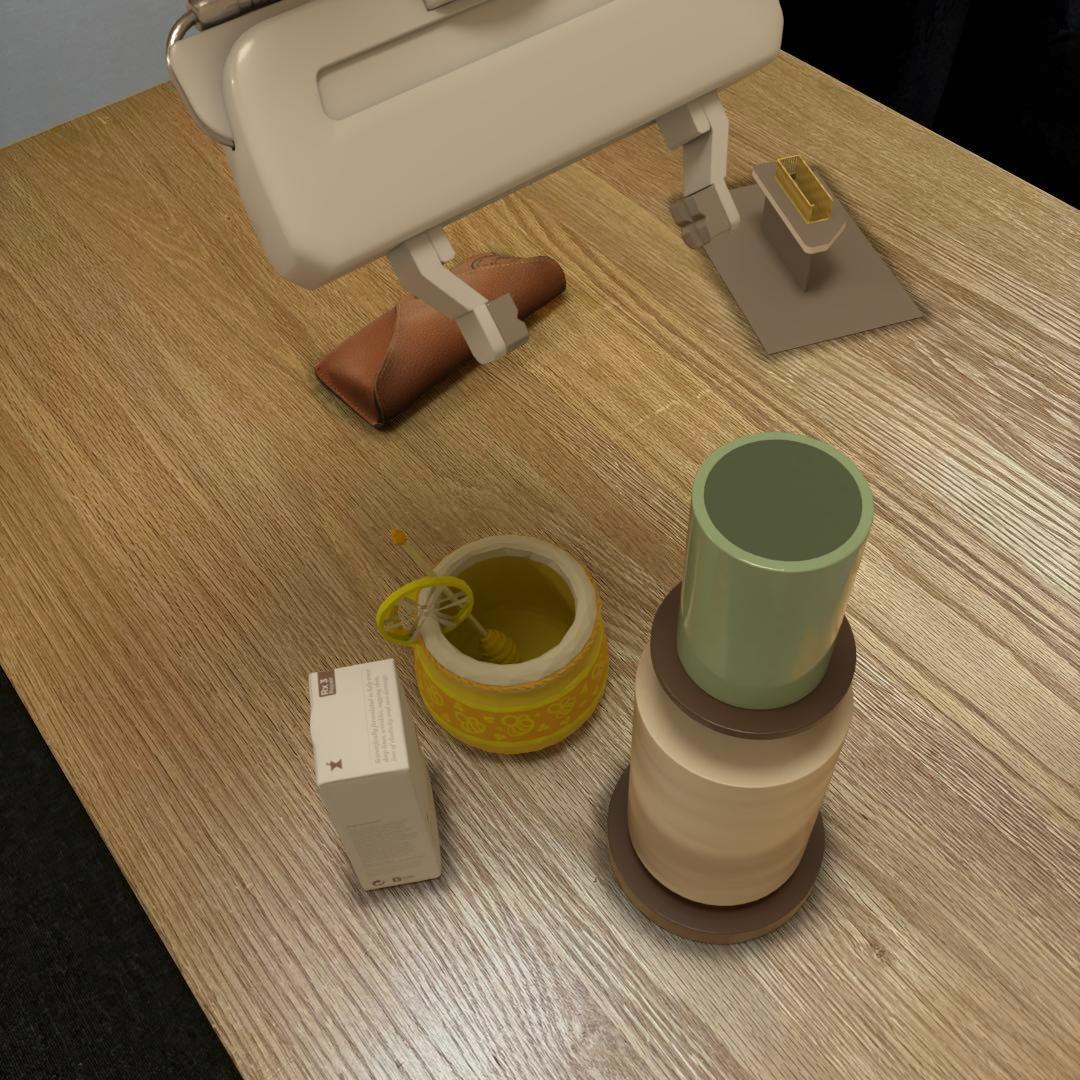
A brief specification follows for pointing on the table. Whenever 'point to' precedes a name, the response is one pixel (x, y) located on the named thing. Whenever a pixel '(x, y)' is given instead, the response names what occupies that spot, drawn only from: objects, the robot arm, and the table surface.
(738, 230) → the platform
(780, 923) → the holder
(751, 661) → the cup
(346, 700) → the cosmetic box
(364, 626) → the table surface
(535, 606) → the honey pot with dipper
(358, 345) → the sunglasses case
